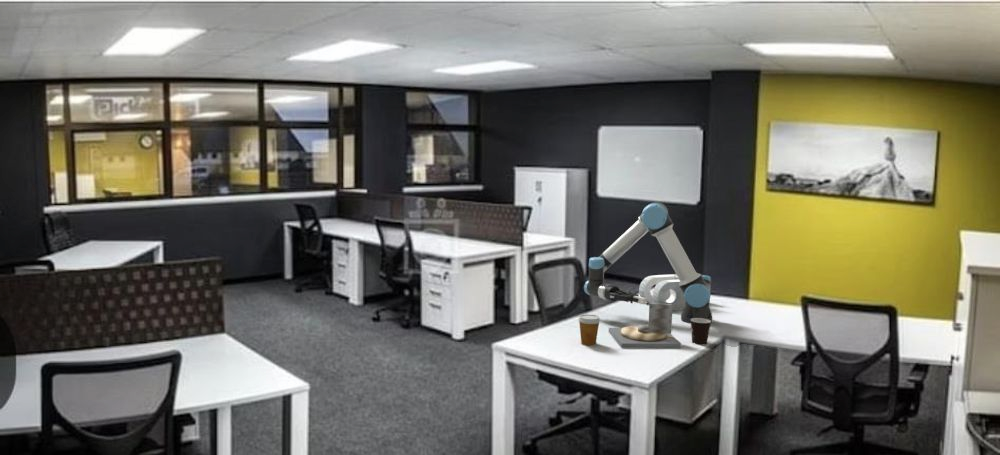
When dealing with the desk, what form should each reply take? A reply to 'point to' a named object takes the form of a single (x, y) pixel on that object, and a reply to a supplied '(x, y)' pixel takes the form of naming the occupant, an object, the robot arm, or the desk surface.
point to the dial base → (631, 343)
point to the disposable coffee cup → (588, 328)
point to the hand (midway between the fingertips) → (644, 301)
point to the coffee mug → (700, 330)
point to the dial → (652, 324)
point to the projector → (663, 290)
